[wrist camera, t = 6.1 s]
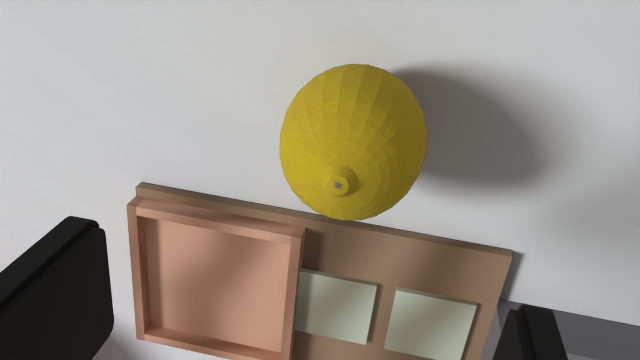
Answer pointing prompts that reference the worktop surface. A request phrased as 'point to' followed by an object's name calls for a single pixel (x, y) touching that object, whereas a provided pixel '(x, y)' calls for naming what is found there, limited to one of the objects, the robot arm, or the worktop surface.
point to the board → (303, 283)
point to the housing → (576, 336)
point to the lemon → (353, 142)
